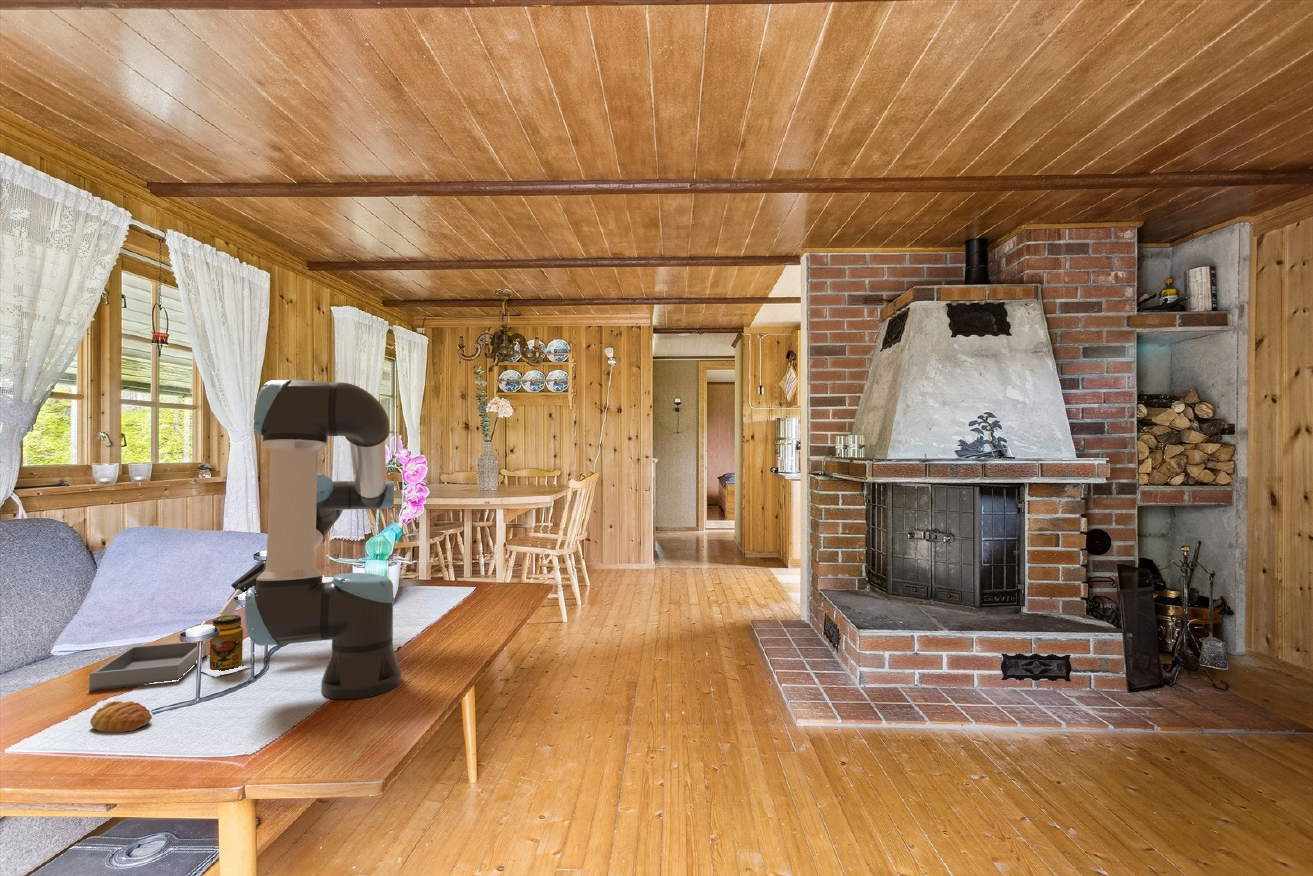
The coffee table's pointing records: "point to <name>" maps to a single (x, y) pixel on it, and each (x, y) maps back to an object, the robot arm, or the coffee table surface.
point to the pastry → (120, 717)
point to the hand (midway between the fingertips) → (245, 618)
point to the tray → (146, 665)
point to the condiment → (226, 643)
